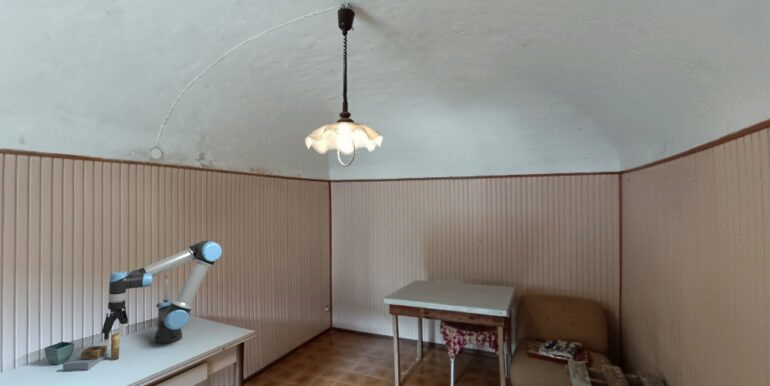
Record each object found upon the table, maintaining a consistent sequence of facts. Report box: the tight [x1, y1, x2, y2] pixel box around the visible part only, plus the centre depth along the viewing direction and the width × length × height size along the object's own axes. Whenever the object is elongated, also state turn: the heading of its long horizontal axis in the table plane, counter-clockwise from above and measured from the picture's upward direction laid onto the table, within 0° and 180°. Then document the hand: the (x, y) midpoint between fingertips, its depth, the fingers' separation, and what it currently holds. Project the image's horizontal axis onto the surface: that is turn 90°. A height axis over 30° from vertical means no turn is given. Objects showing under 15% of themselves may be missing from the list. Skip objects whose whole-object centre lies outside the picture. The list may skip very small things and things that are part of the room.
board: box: [62, 352, 111, 373], centre depth 189 cm, size 11×19×4 cm, turn 9°
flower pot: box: [44, 341, 75, 365], centre depth 189 cm, size 9×9×9 cm
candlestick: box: [156, 274, 169, 327], centre depth 250 cm, size 11×11×35 cm
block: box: [80, 345, 108, 360], centre depth 194 cm, size 8×8×4 cm
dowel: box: [110, 333, 121, 361], centre depth 195 cm, size 4×4×13 cm
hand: (114, 340), depth 194 cm, fingers open, 13 cm apart
